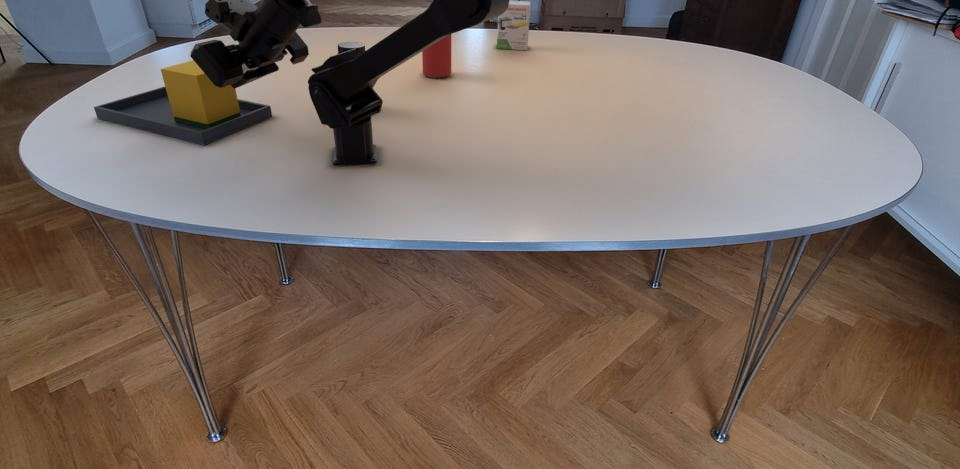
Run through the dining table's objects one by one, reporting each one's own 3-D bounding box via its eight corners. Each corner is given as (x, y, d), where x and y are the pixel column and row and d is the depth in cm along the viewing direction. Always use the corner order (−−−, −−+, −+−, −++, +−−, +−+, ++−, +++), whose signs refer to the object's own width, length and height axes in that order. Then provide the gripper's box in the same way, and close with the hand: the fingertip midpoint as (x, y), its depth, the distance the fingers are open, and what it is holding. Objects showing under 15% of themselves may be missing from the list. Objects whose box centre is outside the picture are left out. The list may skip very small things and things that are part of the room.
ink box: (496, 48, 149) (498, 2, 143) (497, 44, 153) (499, -1, 147) (527, 50, 148) (530, 4, 142) (527, 46, 152) (531, 1, 146)
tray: (272, 117, 98) (270, 105, 97) (204, 145, 86) (201, 132, 85) (172, 95, 106) (169, 84, 105) (97, 118, 94) (93, 107, 93)
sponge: (241, 117, 95) (230, 65, 91) (209, 130, 90) (196, 75, 85) (207, 110, 98) (195, 59, 93) (174, 122, 93) (160, 68, 88)
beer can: (436, 69, 129) (435, 15, 122) (457, 75, 125) (457, 20, 119) (416, 74, 124) (415, 19, 118) (437, 80, 121) (437, 23, 114)
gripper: (283, -31, 84) (243, 34, 94) (182, -19, 70) (147, 57, 79) (330, 28, 86) (286, 86, 95) (241, 51, 71) (199, 118, 81)
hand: (233, 85), depth 88 cm, fingers closed
